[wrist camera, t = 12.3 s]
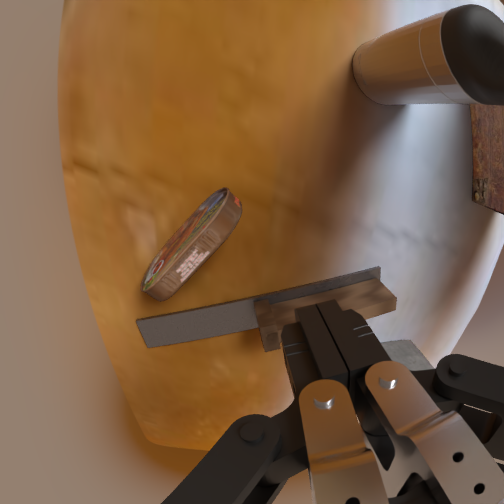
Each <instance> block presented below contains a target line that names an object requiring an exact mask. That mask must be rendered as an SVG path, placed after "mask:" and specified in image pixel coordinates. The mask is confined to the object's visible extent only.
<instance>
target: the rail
mask: <svg viewBox="0 0 504 504" xmlns="http://www.w3.org/2000/svg"><path fill="white" fill-rule="evenodd" d="M380 271H381V268H380V267H379V266H378V267H374V268H370V269H366V270H363V271H359V272H355V273H351V274H347V275H343V276H339V277H335V278H331V279H327V280H323V281H319V282H314V283H310V284H306V285H302V286H298V287H293V288H289V289H285V290H280V291H276V292H271V293H267V294H262V295H258V296H253V297H249V298H244V299H239V300H234V301H230V302H225V303H220V304H215V305H210V306H205V307H200V308H195V309H190V310H185V311H180V312H174V313H169V314H164V315H158V316H152V317H147V318H141V319H137V320H136V322H137V325H138V327H139V329H140V331H141V334H142V336H143V338H144V340H145V342H146V345H147V347H148V348H150V347H157V346H163V345H169V344H175V343H181V342H187V341H193V340H198V339H204V338H209V337H214V336H220V335H225V334H230V333H235V332H239V331H244V330H249V329H254V328H258V322H257V317H256V312H255V308H254V303H253V302H256V301H260V300H265V299H268V301H269V304H270V305H271V304H275V303H279V302H284V301H288V300H292V299H296V298H301V297H305V296H309V295H313V294H317V293H321V292H325V291H329V290H333V289H337V288H341V287H345V286H348V285H352V284H356V283H360V282H363V281H367V280H371V279H374V278H377V279H378V280H379V281H380Z"/></svg>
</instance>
